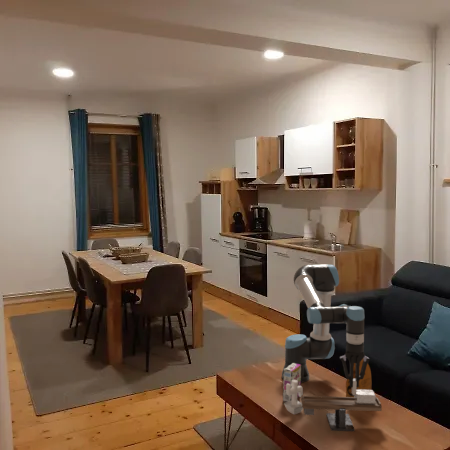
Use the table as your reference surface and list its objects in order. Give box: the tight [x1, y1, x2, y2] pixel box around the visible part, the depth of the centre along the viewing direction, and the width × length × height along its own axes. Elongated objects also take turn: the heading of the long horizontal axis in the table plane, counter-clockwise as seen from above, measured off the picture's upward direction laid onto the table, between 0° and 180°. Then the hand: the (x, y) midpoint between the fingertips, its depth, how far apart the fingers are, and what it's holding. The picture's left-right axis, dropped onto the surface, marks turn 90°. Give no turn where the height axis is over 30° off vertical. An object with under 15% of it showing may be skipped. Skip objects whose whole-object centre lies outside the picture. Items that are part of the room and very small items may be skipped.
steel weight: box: [354, 389, 377, 405], centre depth 209 cm, size 6×8×5 cm
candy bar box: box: [282, 363, 302, 403], centre depth 235 cm, size 11×5×16 cm, turn 147°
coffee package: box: [345, 358, 373, 397], centre depth 230 cm, size 10×12×22 cm
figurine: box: [283, 380, 304, 415], centre depth 222 cm, size 7×9×15 cm
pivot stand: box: [325, 408, 356, 432], centre depth 211 cm, size 14×10×9 cm
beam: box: [300, 394, 383, 416], centre depth 210 cm, size 9×34×6 cm, turn 86°
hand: (353, 393), depth 210 cm, fingers closed
